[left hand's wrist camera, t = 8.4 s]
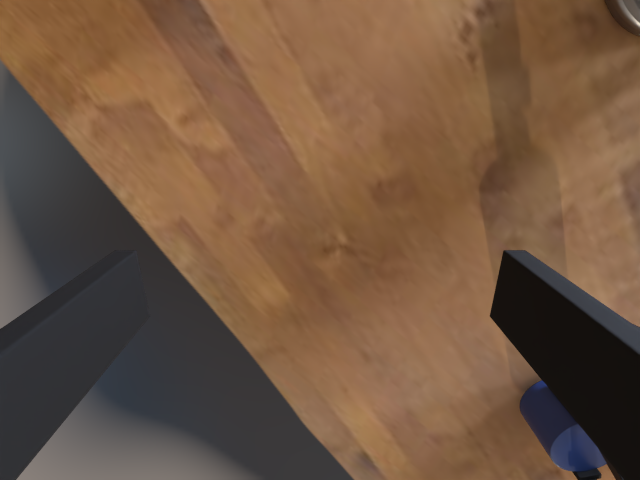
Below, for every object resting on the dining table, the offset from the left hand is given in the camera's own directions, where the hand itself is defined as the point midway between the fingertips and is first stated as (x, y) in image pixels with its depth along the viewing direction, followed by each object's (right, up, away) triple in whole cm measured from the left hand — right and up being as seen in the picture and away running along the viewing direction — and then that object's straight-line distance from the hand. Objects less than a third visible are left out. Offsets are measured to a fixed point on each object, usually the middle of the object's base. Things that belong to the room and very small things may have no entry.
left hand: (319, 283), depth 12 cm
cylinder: (+33, -22, +37) cm, 54 cm away
